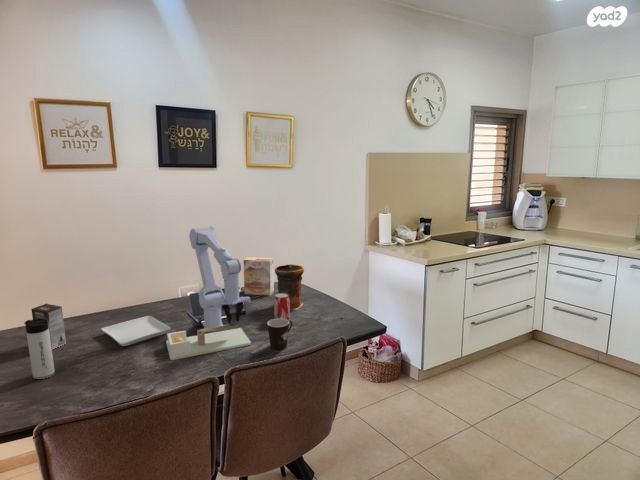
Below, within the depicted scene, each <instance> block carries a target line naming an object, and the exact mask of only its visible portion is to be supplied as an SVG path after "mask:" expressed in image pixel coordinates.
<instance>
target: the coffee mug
mask: <svg viewBox="0 0 640 480" xmlns="http://www.w3.org/2000/svg"><path fill="white" fill-rule="evenodd" d="M266 325H267V330H268V337H269V343H270V344H269V346H270V349H271V350H273V351H282V350H285V349H286V348H287V347H288V337H289V332H290V331H291V329H292V327H293V322H292V320H286V319H280V318H279V319H275V318H274V319H273V318H272V319H270V320H268V321H267V323H266Z"/></svg>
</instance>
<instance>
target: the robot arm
mask: <svg viewBox="0 0 640 480" xmlns="http://www.w3.org/2000/svg"><path fill="white" fill-rule="evenodd" d="M188 235H189V236H188V237H189V241H190V245H191V249H193V250H195V255H196V259H197V262H198V267H199V272H200V276H201V281H202V285H203V287H202V288H201V289H200V290H199V292H198V303H199V306H200V307H201V309H203V317H204V318H203V320H204V321H202V322H201V323H202V326H203V329H205V328H211V327H217V326H223V325H224V323H223V321H222V309H223V311H224V314H225V317H226V321H227V323H228V324H230V313H231V312H230V311H231V308H230V305H231V306H234V305H235V313H237V322H239V321H240V317H241V314H242V311H243V310H244V309H243V308H244V307H245V306H244V303H251V297H250V296H240V285H239V284H240V283H239V282H240V280H239V273H241V271H242V265H241V262H240V260H239V259H238V258H235V257H233V256H232V255H231V254H230V252H229V251H228V250H227V248H226V247H222V245H221V244H220V242H219V241H218V239H217V232H216V230H215V228H214V227H213V226H208V227H207V226H206V227H205V226H204V227H198V228H191V229H190V231H189V234H188ZM209 248H210V249H211V251H213V257H214V259H215V260H216V261H217V263H218V264H219V266H220V272H221V274H222V279H223V286H224V287H223V288H224V291H223V290H222V286H219V285H218V284H216V282H215V278H214V273H213V269H212V264H211V260H210V256H209Z"/></svg>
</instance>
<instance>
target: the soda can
mask: <svg viewBox="0 0 640 480" xmlns="http://www.w3.org/2000/svg"><path fill="white" fill-rule="evenodd" d="M273 310H274V311H273V314H274V315H273V316H274V319H279V318H280V319H286V320H288V321H290V316H291V315H290V313H291V312H290V311H291V310H290V302H289V297H288V294H285V293H279V294H278V293H276V294H275V296H274V299H273Z"/></svg>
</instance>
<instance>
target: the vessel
mask: <svg viewBox="0 0 640 480" xmlns="http://www.w3.org/2000/svg"><path fill="white" fill-rule="evenodd" d="M304 272H305V269H304V267H303V266H302V265H298V264H294V263H293V264H292V263H291V264H284V265H279V266H276V267H275V268H274V273H275V275H276V278H277V290H278V291H277V294H279V293H285V294H288V297H289V302H290V311H291V310H293V311H294V310H298V309H300V308H301V307H303V306H304V302H302V297H301V296H302V281H303V276H302V275H303V274H304ZM301 303H302V304H301Z"/></svg>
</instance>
